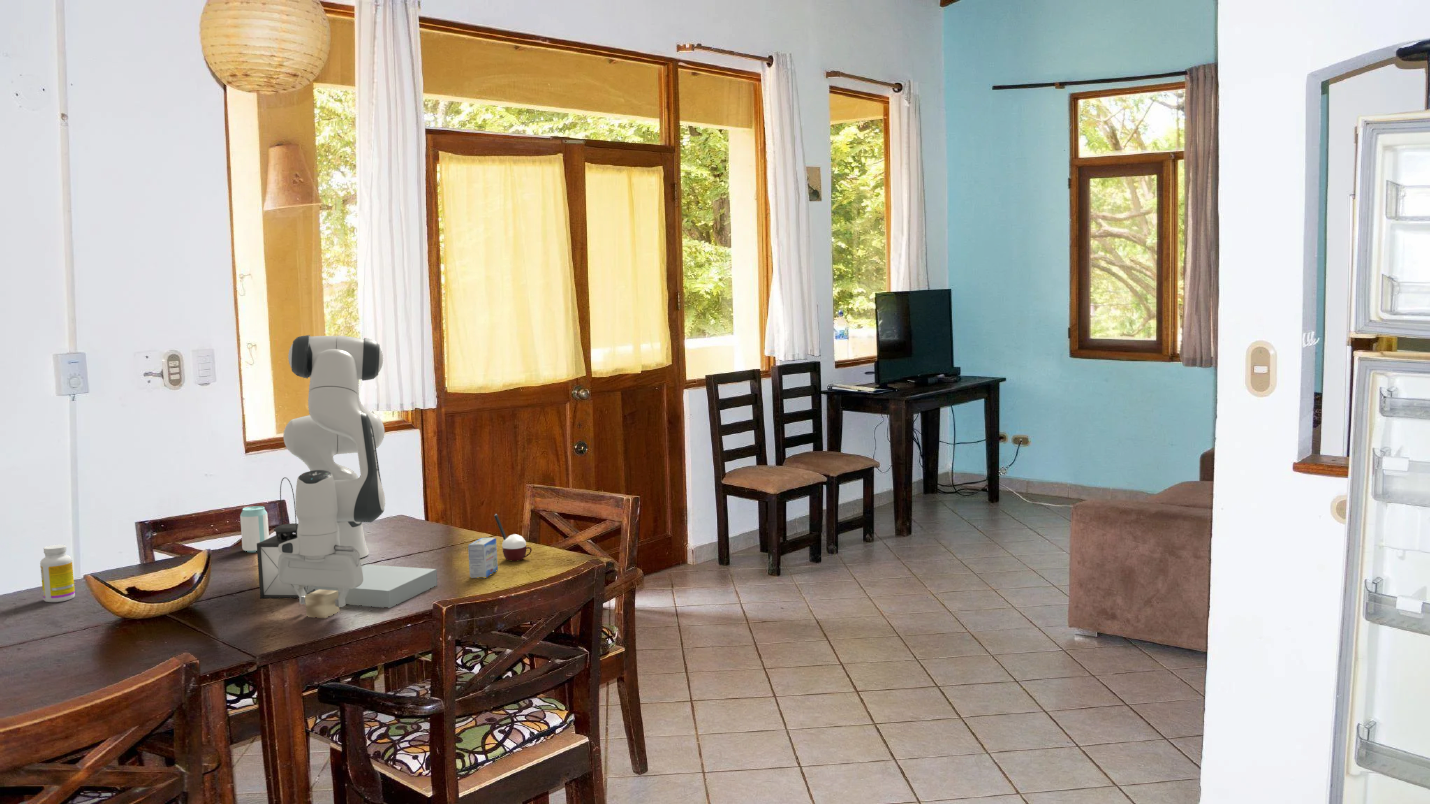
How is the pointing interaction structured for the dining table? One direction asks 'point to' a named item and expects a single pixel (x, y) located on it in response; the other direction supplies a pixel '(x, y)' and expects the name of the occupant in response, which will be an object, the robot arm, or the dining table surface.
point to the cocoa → (512, 544)
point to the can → (253, 527)
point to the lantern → (276, 562)
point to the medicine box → (482, 557)
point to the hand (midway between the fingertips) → (322, 604)
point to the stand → (388, 585)
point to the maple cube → (321, 603)
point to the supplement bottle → (57, 574)
